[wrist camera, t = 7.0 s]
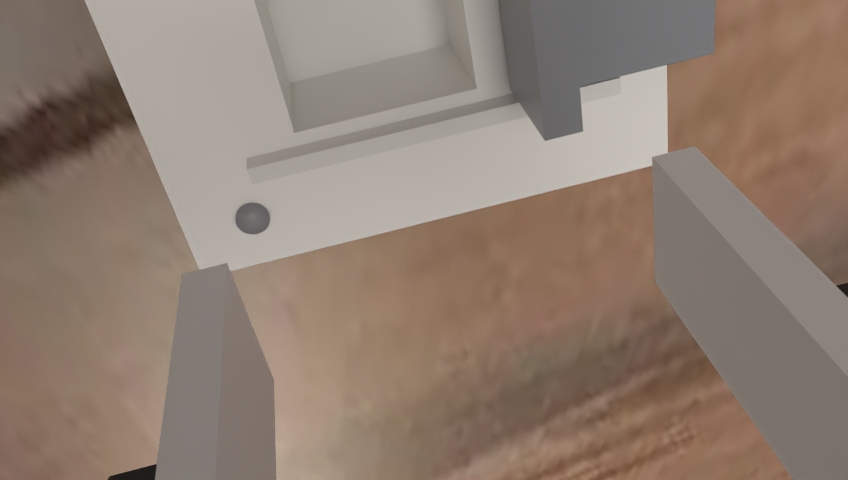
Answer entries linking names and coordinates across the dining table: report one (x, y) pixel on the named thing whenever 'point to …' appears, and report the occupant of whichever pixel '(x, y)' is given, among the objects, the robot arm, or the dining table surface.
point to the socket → (349, 118)
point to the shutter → (593, 48)
